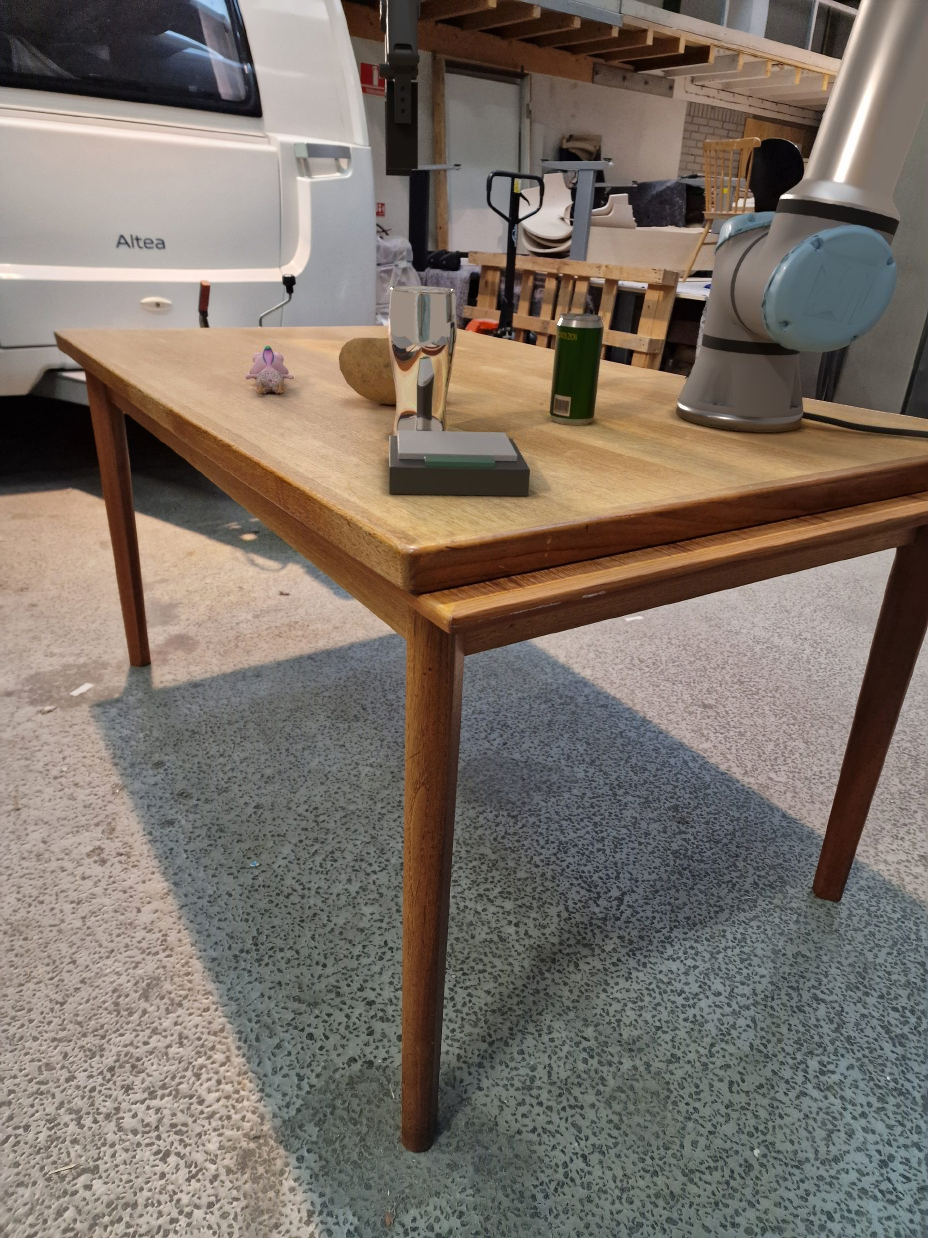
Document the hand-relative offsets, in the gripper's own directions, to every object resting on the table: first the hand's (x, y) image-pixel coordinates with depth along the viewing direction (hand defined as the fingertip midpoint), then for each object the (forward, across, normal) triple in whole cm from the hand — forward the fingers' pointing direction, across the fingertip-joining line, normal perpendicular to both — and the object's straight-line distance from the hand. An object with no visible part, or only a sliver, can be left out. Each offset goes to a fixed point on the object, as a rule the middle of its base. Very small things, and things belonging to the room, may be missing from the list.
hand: (400, 172), depth 79 cm
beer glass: (+25, +2, +2) cm, 25 cm away
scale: (+25, +17, +4) cm, 31 cm away
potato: (+25, -16, 0) cm, 30 cm away
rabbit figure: (+25, -25, -17) cm, 40 cm away
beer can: (+26, -8, +21) cm, 34 cm away
